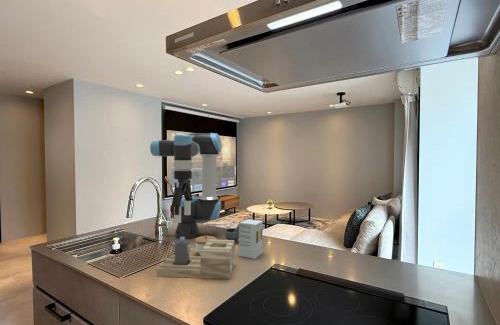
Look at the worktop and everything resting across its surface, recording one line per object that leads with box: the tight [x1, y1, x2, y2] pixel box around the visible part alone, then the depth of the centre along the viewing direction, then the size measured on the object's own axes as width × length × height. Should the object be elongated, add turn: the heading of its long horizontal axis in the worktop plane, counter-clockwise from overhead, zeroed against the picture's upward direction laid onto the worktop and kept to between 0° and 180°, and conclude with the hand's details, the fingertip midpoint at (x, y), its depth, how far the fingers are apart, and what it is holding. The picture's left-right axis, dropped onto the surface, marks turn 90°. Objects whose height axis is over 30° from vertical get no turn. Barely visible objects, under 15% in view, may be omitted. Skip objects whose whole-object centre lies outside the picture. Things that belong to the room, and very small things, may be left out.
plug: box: [174, 237, 191, 265], centre depth 112 cm, size 4×6×14 cm
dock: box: [156, 239, 235, 280], centre depth 112 cm, size 15×30×11 cm, turn 87°
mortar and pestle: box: [224, 221, 241, 245], centre depth 150 cm, size 11×9×12 cm
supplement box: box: [238, 219, 264, 260], centre depth 130 cm, size 10×9×17 cm
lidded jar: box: [194, 235, 217, 256], centre depth 131 cm, size 11×11×9 cm
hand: (182, 218), depth 112 cm, fingers open, 13 cm apart
